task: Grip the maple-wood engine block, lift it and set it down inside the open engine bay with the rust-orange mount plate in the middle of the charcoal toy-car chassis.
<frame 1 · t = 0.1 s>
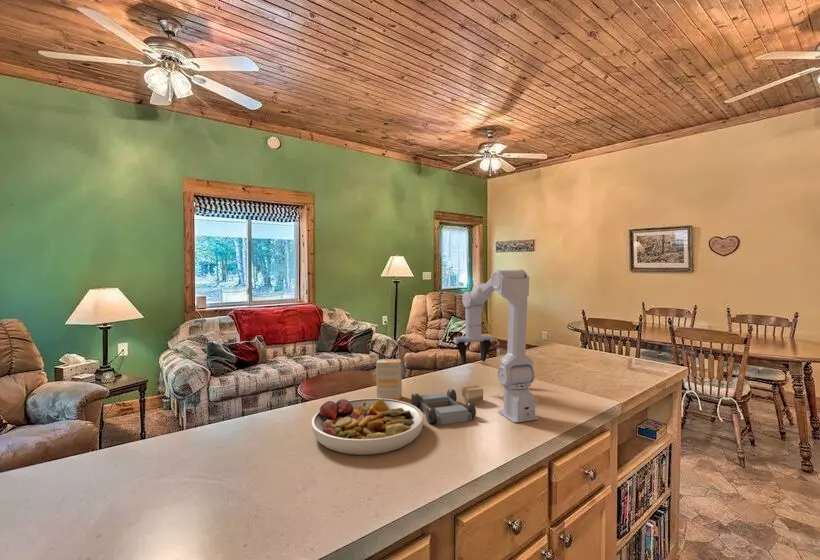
hand: (473, 361, 149), 10 cm above the counter, tool pointing down, fingers open, 7 cm apart
engine block: (472, 402, 136), on the counter
supplement box: (389, 398, 140), on the counter
car chassis: (442, 411, 127), on the counter
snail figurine: (508, 385, 154), on the counter
bowl: (368, 435, 112), on the counter
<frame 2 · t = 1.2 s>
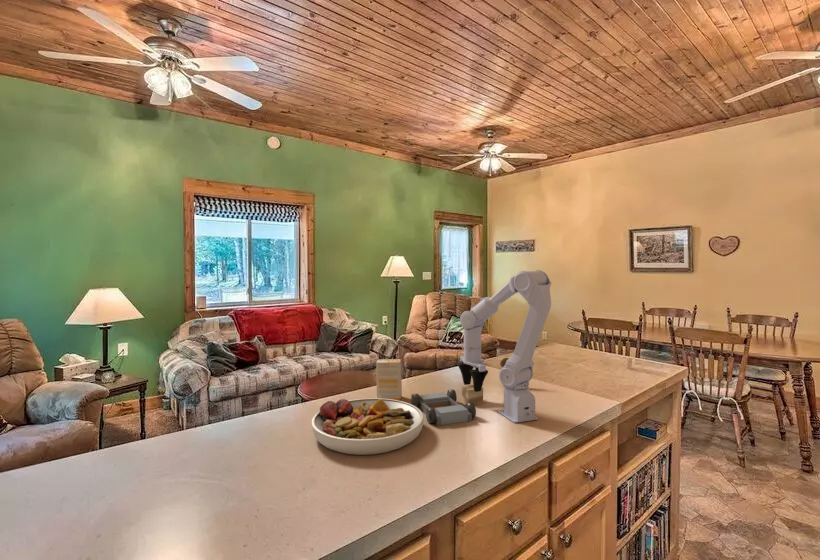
hand: (472, 387, 136), 5 cm above the counter, tool pointing down, fingers open, 7 cm apart
nothing on the counter moved.
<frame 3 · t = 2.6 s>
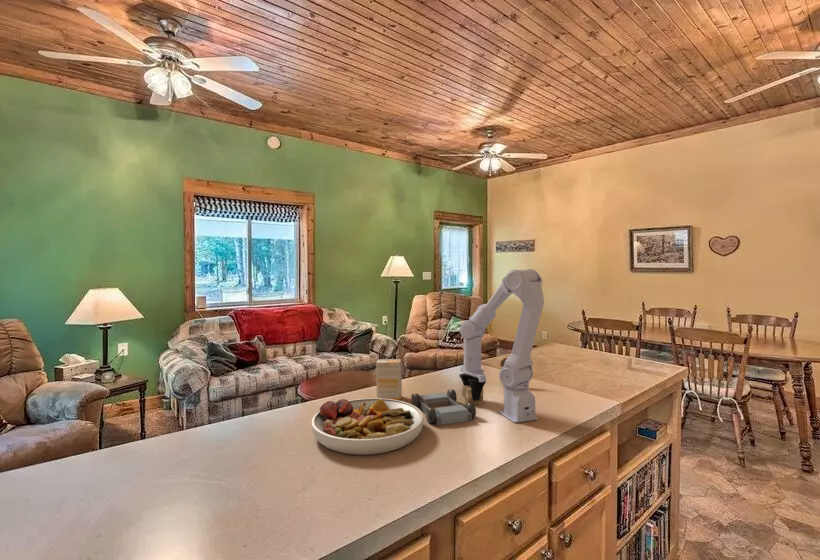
hand: (472, 397, 136), 1 cm above the counter, tool pointing down, fingers closed on engine block, 4 cm apart
engine block: (472, 401, 136), on the counter, touching gripper
everything else where it was.
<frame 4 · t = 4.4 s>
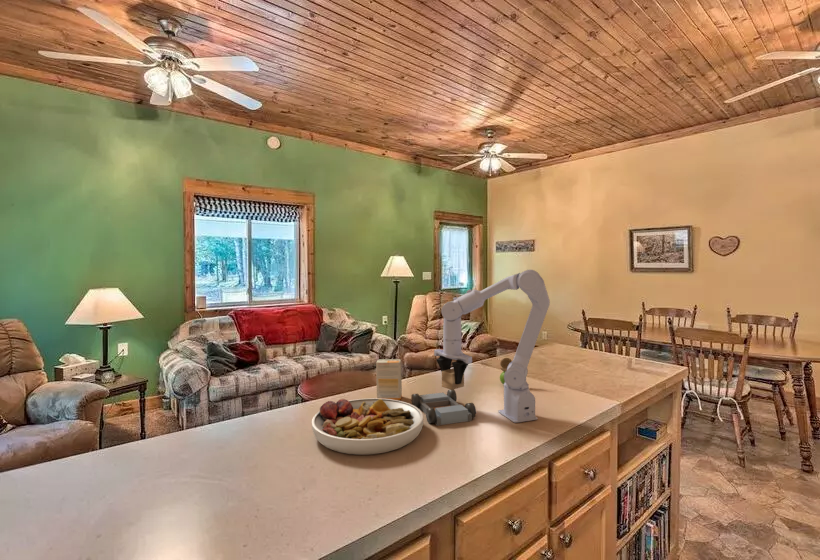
hand: (452, 381, 130), 8 cm above the counter, tool pointing down, fingers closed on engine block, 4 cm apart
engine block: (452, 386, 130), point 7 cm above the counter, touching gripper
everything else where it was.
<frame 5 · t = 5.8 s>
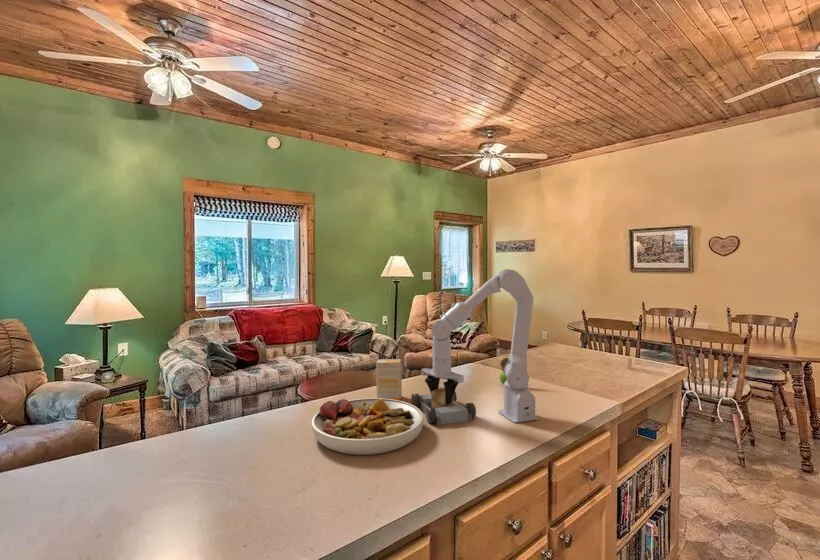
hand: (442, 401, 127), 3 cm above the counter, tool pointing down, fingers closed on engine block, 4 cm apart
engine block: (442, 406, 127), point 2 cm above the counter, touching gripper
everything else where it was.
when the fingers open (3 cm above the counter, at t = 6.6 s): engine block drops 1 cm, resting on car chassis.
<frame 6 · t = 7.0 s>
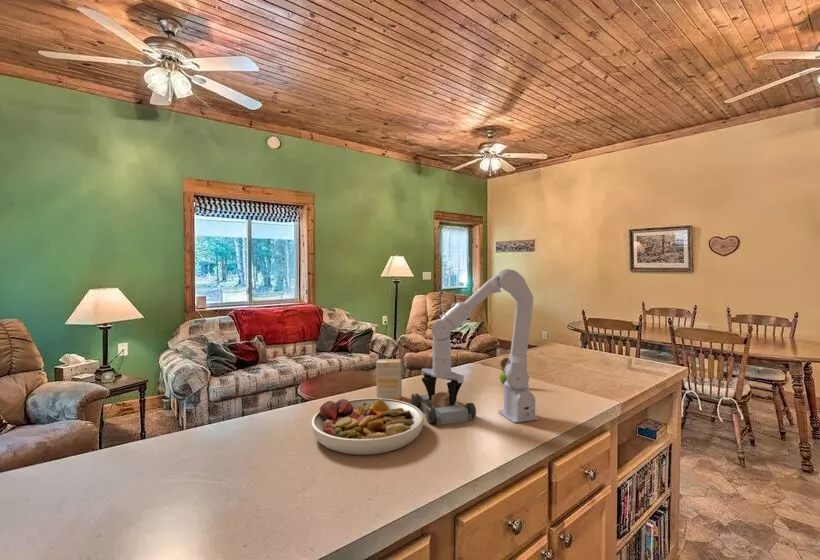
hand: (442, 401, 127), 3 cm above the counter, tool pointing down, fingers open, 7 cm apart
engine block: (442, 410, 127), resting on car chassis
everything else where it was.
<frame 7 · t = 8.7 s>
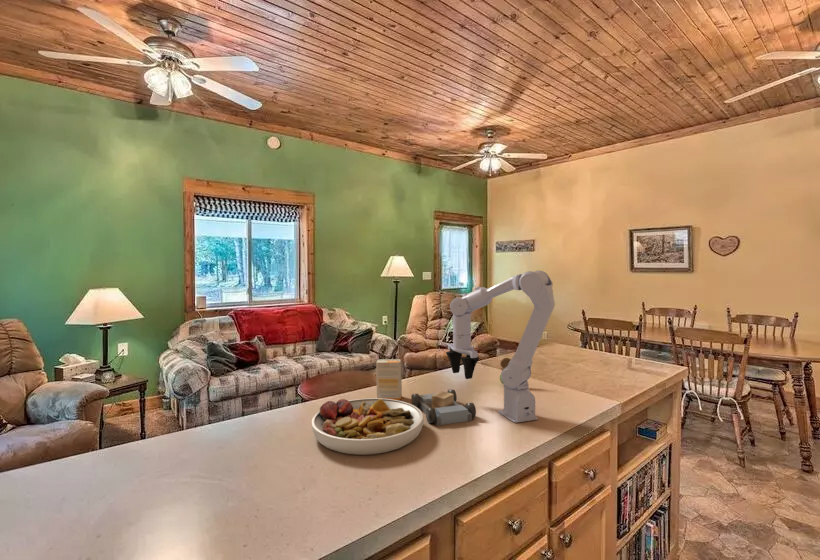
hand: (462, 375, 134), 9 cm above the counter, tool pointing down, fingers open, 7 cm apart
nothing on the counter moved.
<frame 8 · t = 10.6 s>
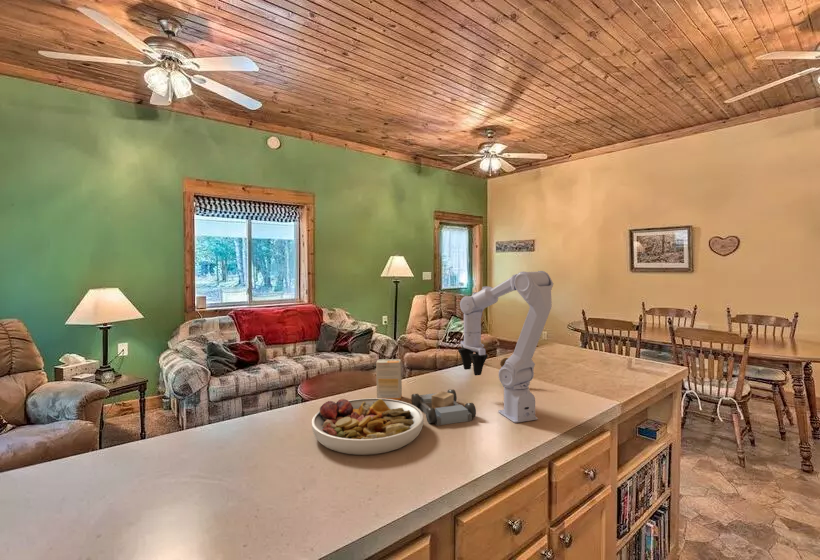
hand: (472, 372, 138), 9 cm above the counter, tool pointing down, fingers open, 7 cm apart
nothing on the counter moved.
at the end: engine block 0.3 cm off-centre on the car chassis, point 0.3 cm above the car chassis's base; engine block tilted 0°; the gripper is holding nothing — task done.
